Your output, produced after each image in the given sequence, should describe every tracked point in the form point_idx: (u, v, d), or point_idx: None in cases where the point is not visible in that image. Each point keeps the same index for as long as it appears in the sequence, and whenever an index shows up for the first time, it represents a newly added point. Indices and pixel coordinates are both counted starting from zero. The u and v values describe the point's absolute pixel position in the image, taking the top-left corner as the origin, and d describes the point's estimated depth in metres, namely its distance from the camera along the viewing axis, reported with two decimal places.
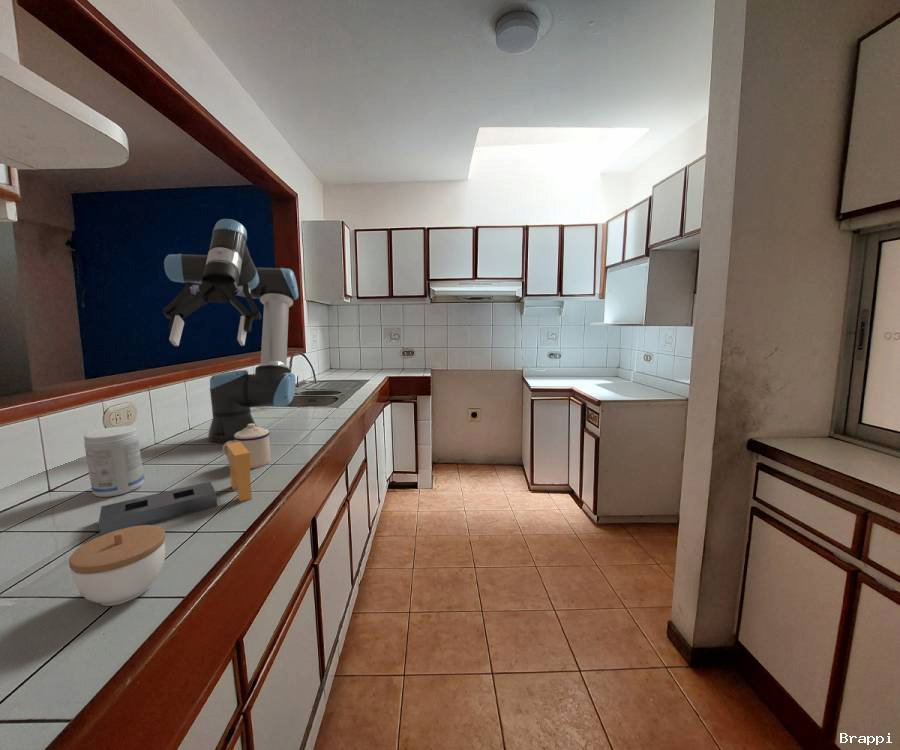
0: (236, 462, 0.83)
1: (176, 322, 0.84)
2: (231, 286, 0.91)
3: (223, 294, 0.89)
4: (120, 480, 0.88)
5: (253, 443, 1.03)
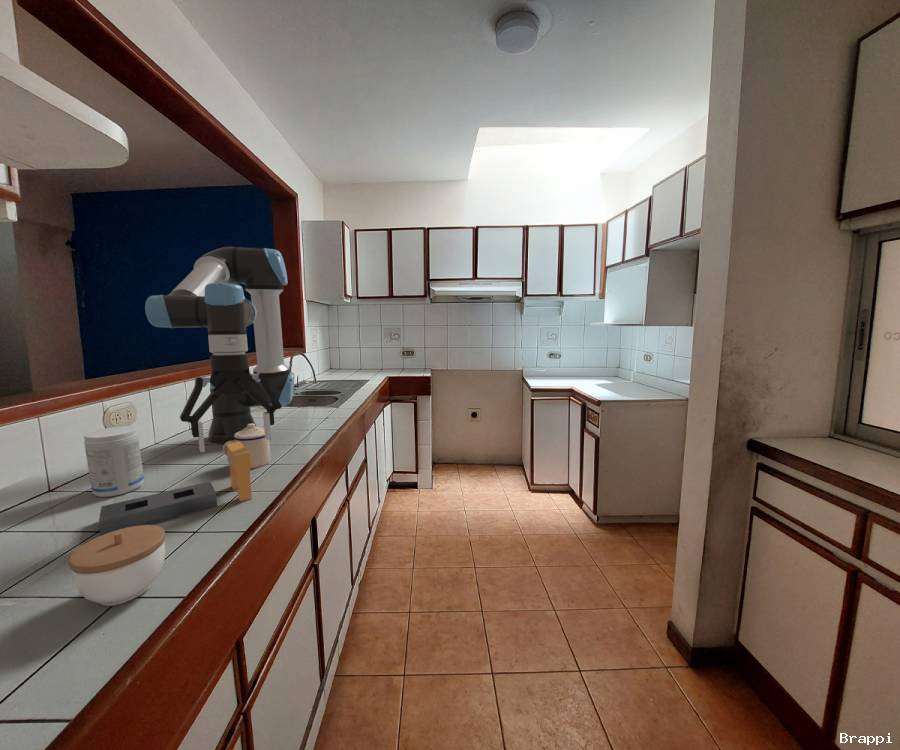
0: (236, 462, 0.83)
1: (202, 431, 0.82)
2: (247, 378, 0.87)
3: (241, 389, 0.86)
4: (120, 480, 0.88)
5: (253, 443, 1.03)
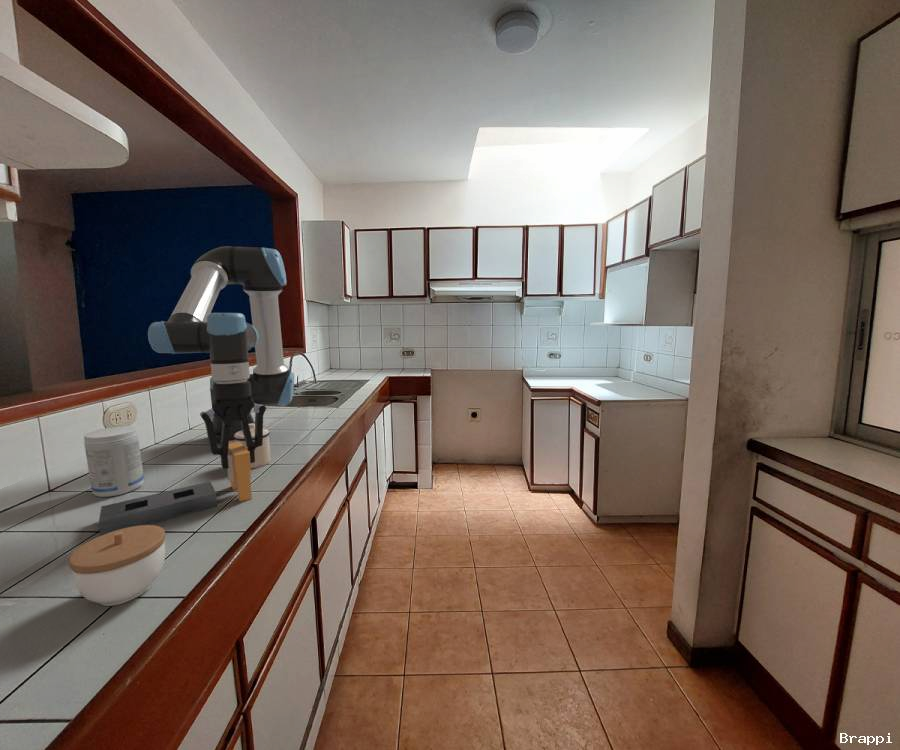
0: (236, 462, 0.83)
1: (231, 463, 0.86)
2: (249, 404, 0.88)
3: (238, 416, 0.86)
4: (120, 480, 0.88)
5: None
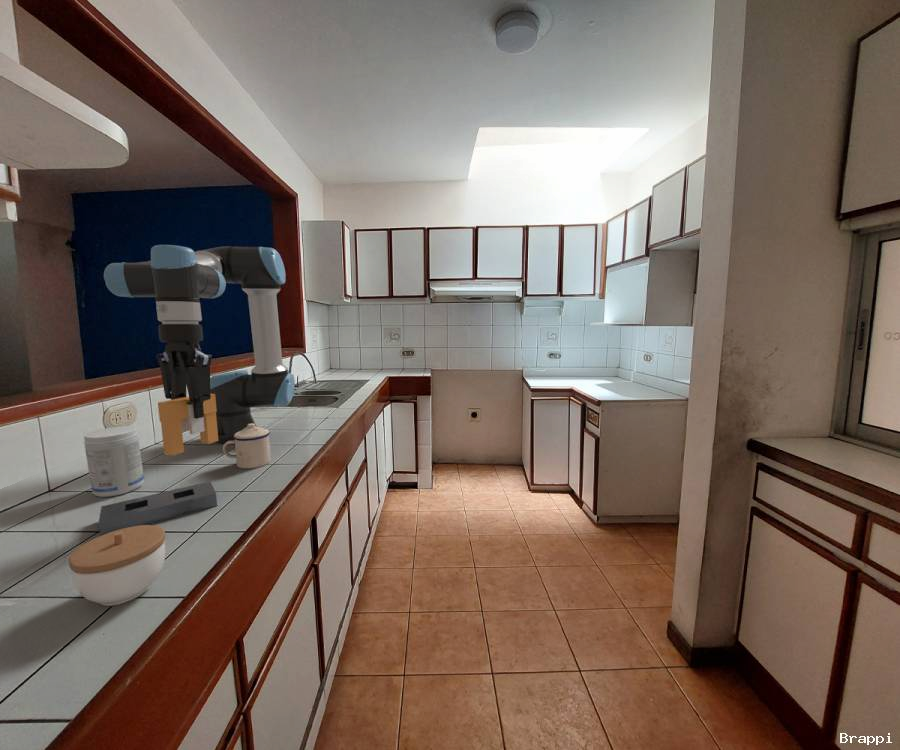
0: (159, 410, 0.76)
1: None
2: (188, 351, 0.77)
3: None
4: (120, 480, 0.88)
5: (253, 443, 1.03)
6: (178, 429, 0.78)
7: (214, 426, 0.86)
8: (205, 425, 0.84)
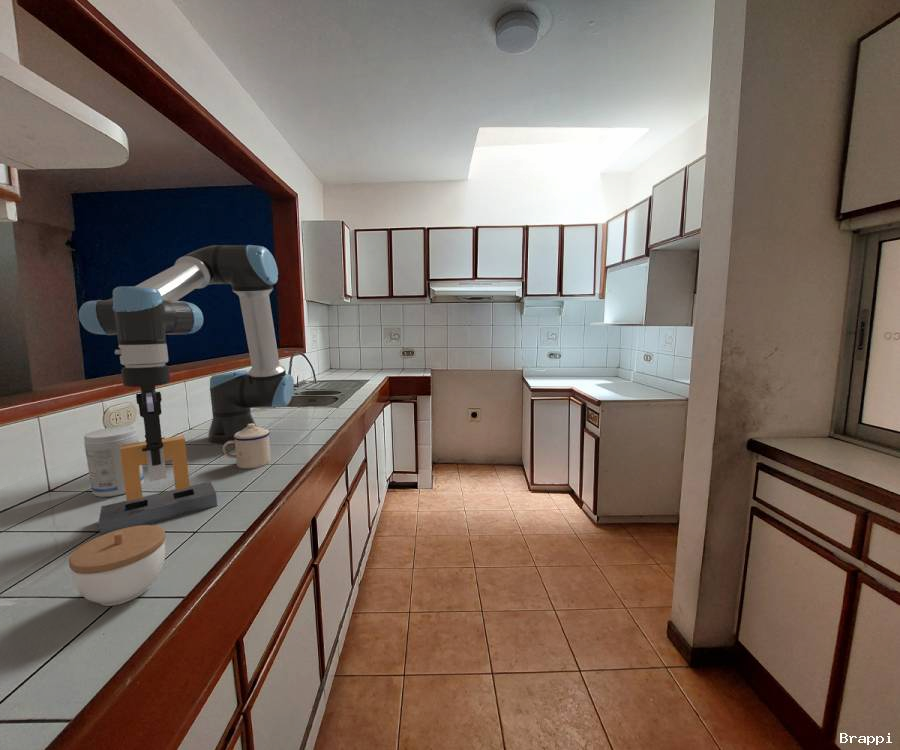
0: None
1: None
2: (141, 396, 0.73)
3: None
4: (120, 480, 0.88)
5: (253, 443, 1.03)
6: (135, 475, 0.75)
7: (184, 472, 0.81)
8: (173, 470, 0.80)
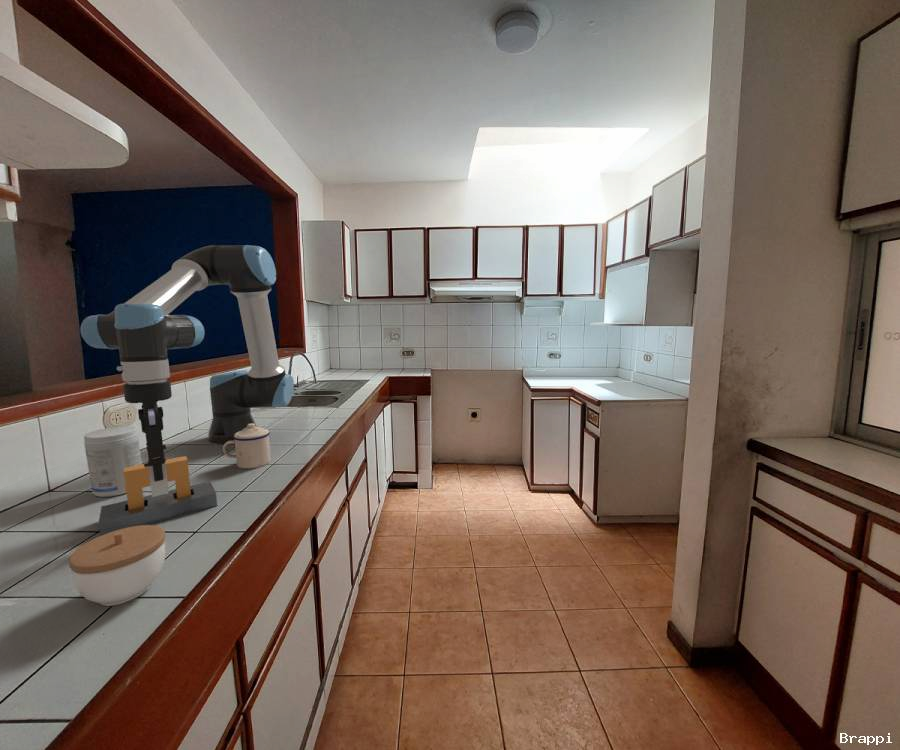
0: None
1: None
2: (143, 412, 0.74)
3: None
4: (120, 480, 0.88)
5: (253, 443, 1.03)
6: (138, 497, 0.76)
7: (187, 492, 0.81)
8: (176, 491, 0.81)
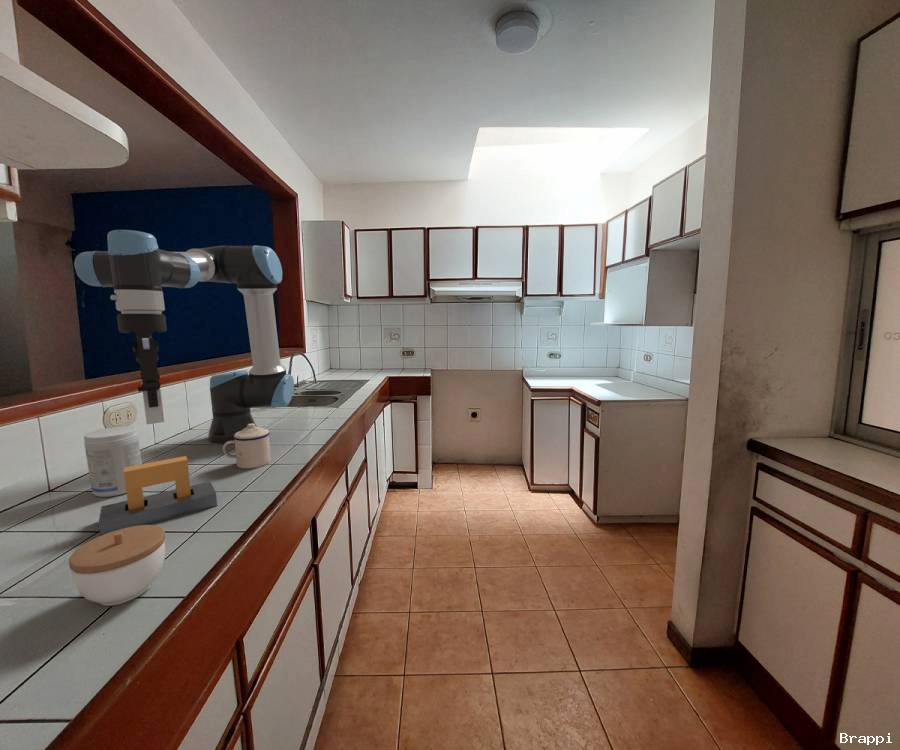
0: None
1: None
2: None
3: None
4: (120, 480, 0.88)
5: (253, 443, 1.03)
6: (138, 497, 0.76)
7: (187, 492, 0.81)
8: (176, 491, 0.81)
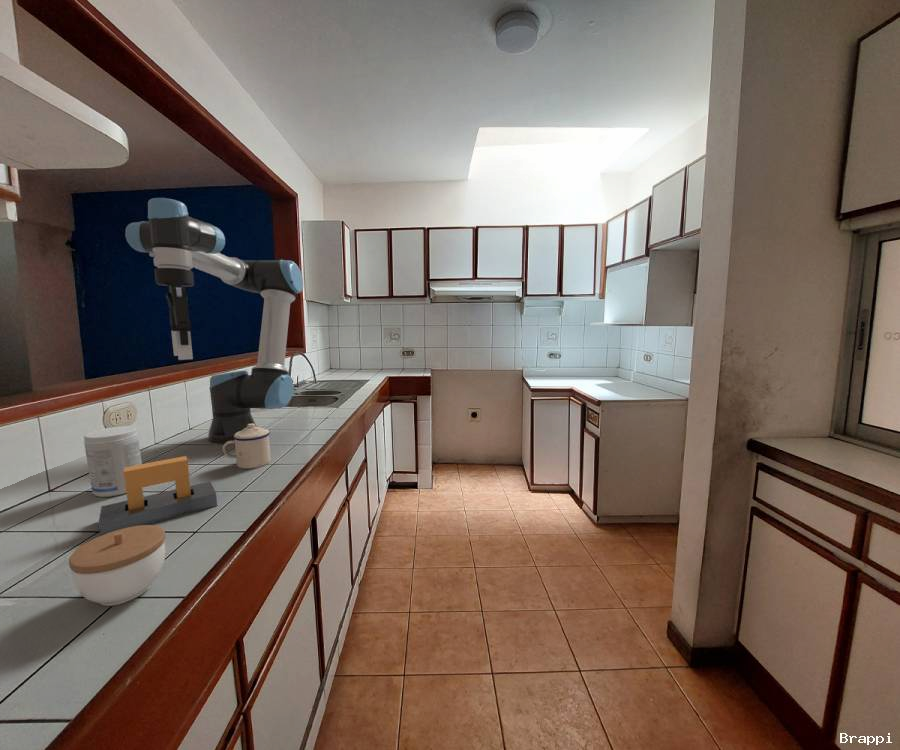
0: None
1: (172, 338, 0.96)
2: (171, 292, 0.87)
3: None
4: (120, 480, 0.88)
5: (253, 443, 1.03)
6: (138, 497, 0.76)
7: (187, 492, 0.81)
8: (176, 491, 0.81)
